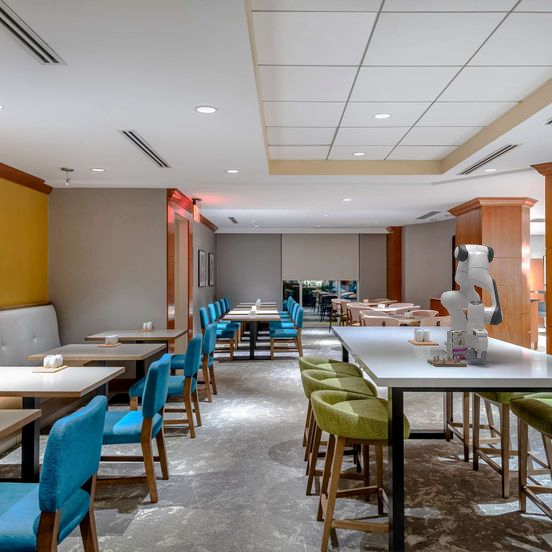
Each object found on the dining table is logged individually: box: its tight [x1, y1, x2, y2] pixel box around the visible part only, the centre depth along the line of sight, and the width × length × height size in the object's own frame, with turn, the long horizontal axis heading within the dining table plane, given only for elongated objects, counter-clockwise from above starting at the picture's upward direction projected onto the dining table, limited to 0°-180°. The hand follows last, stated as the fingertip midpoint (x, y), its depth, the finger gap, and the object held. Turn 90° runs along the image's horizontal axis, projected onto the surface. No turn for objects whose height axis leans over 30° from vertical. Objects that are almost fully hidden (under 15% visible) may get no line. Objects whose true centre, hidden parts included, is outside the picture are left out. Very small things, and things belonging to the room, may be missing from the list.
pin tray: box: [426, 354, 467, 368], centre depth 253 cm, size 14×16×4 cm
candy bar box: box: [446, 330, 468, 361], centre depth 271 cm, size 11×5×16 cm, turn 112°
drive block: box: [465, 349, 487, 362], centre depth 255 cm, size 5×9×5 cm, turn 92°
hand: (475, 356), depth 255 cm, fingers closed on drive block, 5 cm apart
